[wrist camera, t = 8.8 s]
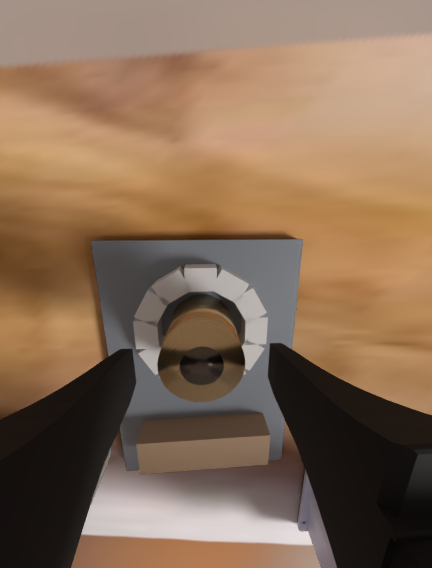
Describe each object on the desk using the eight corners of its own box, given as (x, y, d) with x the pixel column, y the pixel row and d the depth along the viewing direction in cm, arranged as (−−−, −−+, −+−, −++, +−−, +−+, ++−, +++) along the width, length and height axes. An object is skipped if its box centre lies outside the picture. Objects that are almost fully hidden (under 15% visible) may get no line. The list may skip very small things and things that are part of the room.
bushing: (231, 348, 16) (244, 400, 11) (173, 350, 16) (160, 405, 11) (232, 293, 15) (246, 324, 10) (170, 295, 15) (153, 327, 10)
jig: (277, 448, 20) (289, 484, 17) (130, 459, 19) (117, 499, 16) (296, 238, 15) (318, 241, 12) (98, 240, 14) (71, 243, 11)
